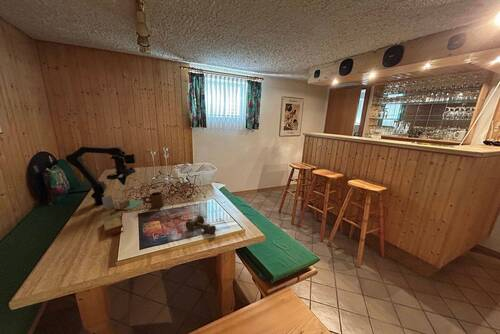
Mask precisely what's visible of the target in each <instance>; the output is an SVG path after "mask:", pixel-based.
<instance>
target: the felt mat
mask: <svg viewBox="0 0 500 334" xmlns="http://www.w3.org/2000/svg"><path fill="white" fill-rule="evenodd" d="M128 200H130V206H127V207H124V208H127V209H128V210H132V209H134V208H136V207H137V206H139V205H142V204H143V203H144V204H145V202H144V201H143V200H138V199H137V200H136V199H133V198H132V199H130V198H129V199H128Z"/></svg>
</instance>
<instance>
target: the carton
mask: <svg viewBox="0 0 500 334" xmlns="http://www.w3.org/2000/svg"><path fill="white" fill-rule="evenodd" d="M102 222H103V227H104V233H105V237H109V236H113V235H115V234H119V233H121V232H120V231H121V228H122V227H123V228H124V224H123V222H122V219H121V216H120V214H119V213H118V214H114V215H110V216H107V217H104V218H102Z"/></svg>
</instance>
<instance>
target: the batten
mask: <svg viewBox="0 0 500 334" xmlns="http://www.w3.org/2000/svg"><path fill="white" fill-rule="evenodd" d="M112 209H115V206H114V207H112ZM115 210H116V209H115ZM119 210H121V211H129V209H127V208H121V209H119Z"/></svg>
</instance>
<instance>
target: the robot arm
mask: <svg viewBox="0 0 500 334" xmlns="http://www.w3.org/2000/svg"><path fill="white" fill-rule="evenodd" d="M86 153H89V154H105V155H110V156H111V157H110V160H114V166H113V168H114V169H115V172H114V173H110V174H107V175H106V180H112V181H113V180H118V181H119V182H120V183H121V185H122V186H125V184H126V181H127V178H128V177H129V176H131V175H132V174H134V173H136V169H135V168H134V167H133V166H131V167H127V166H128V165H130V164H132V165H133V164H136V163H137V158H136V156H135V153H131V154H127V153H126V152H125V151H124V149H123V148H122V147H121V146H109V147H104V146H102V147H101V146H88V145H84V146H83V145H82V146H81V147H80V148H79V149H77V150H75V151H74V152H72V153H70V154H67V155H66V157H65V160H66V162H67V163H68V164H70V165H71V166H73V167H74V168H76V169H77V170H78V171H79V172H80V173H81V174H82V176H84V178H85V179H86V181H88V182H89V184H90V185H91V189H92V190H93V193H91V195H90V197H91V198H92V199H93V200H94V203H92V205H93V206H94V205H95V206H103V201H102V197H105V195H104V194H105V192H106V191H107V190H108V189H107V188H108V187H107V184H106V183H105V182H104V180H102V181H100V180H98V179H97V177H96V176H95V175H94V174H93V172H91V170H90V169H89V168H88V166H87V165H86V164H85V162H84V159H83V156H84V155H85V154H86ZM126 164H127V165H126Z"/></svg>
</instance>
